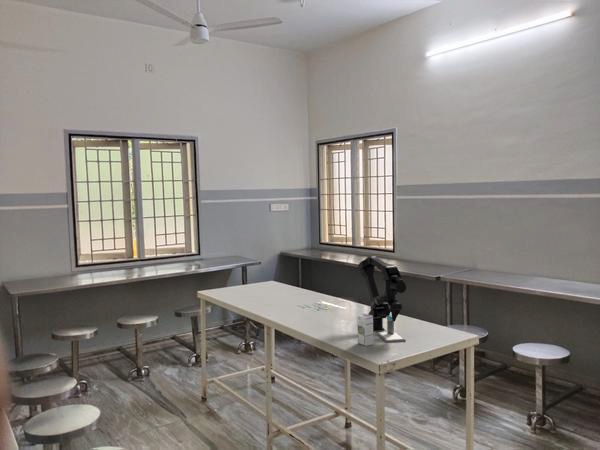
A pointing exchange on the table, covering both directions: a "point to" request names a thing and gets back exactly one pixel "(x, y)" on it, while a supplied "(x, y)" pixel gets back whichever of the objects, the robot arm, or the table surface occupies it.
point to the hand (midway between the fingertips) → (390, 319)
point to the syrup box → (365, 329)
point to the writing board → (391, 337)
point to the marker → (390, 325)
